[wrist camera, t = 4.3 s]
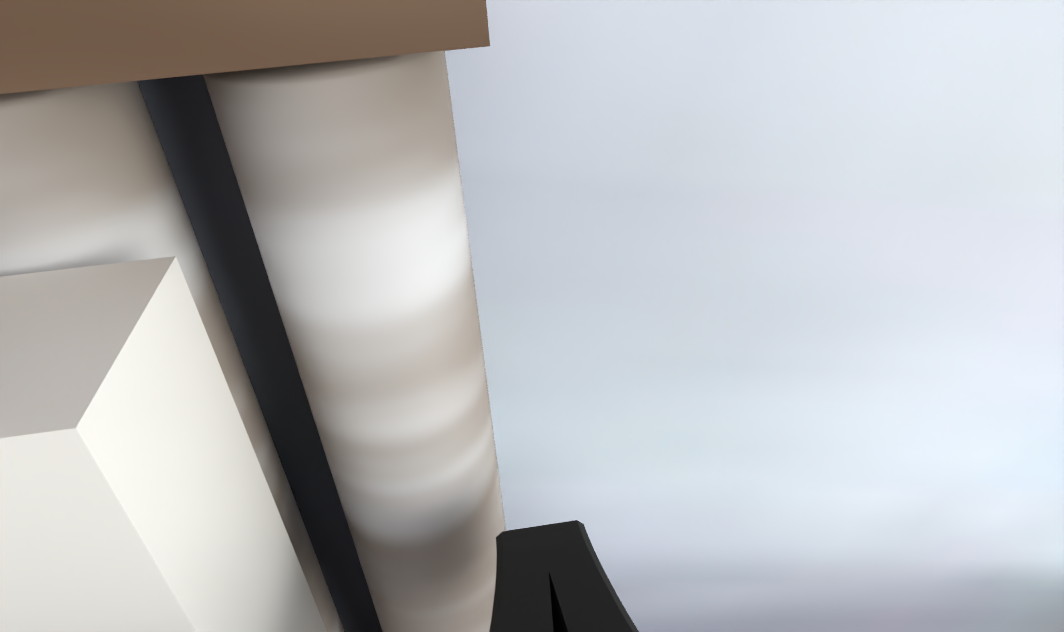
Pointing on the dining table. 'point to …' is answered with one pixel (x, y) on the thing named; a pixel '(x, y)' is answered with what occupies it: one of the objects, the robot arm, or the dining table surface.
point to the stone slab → (130, 466)
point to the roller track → (292, 245)
